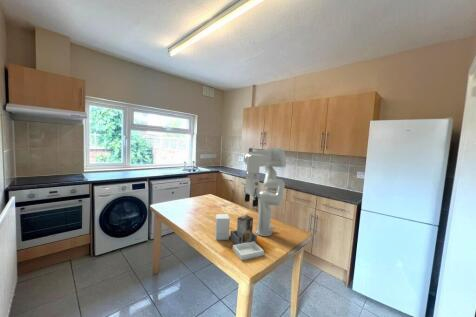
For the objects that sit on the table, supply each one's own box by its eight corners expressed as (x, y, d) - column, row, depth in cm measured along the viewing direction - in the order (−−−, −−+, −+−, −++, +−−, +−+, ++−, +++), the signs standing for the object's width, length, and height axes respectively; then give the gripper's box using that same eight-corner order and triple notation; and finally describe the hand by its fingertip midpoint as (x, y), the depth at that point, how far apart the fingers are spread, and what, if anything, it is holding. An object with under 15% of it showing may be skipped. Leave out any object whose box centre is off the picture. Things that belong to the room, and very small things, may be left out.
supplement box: (227, 233, 142) (228, 213, 141) (228, 239, 133) (230, 218, 132) (214, 234, 140) (215, 213, 139) (215, 240, 131) (216, 218, 130)
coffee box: (245, 237, 139) (246, 214, 138) (252, 240, 134) (253, 217, 133) (235, 240, 133) (237, 217, 131) (242, 244, 128) (243, 220, 127)
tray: (253, 245, 127) (254, 241, 127) (263, 255, 116) (264, 250, 116) (232, 249, 121) (232, 245, 120) (241, 260, 110) (241, 255, 110)
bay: (247, 235, 142) (248, 228, 141) (256, 243, 131) (256, 235, 130) (230, 238, 136) (230, 231, 135) (237, 246, 125) (237, 239, 124)
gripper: (266, 178, 109) (264, 207, 110) (251, 173, 125) (249, 199, 126) (254, 178, 106) (252, 209, 107) (240, 173, 122) (239, 200, 123)
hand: (250, 203), depth 117 cm, fingers open, 9 cm apart
